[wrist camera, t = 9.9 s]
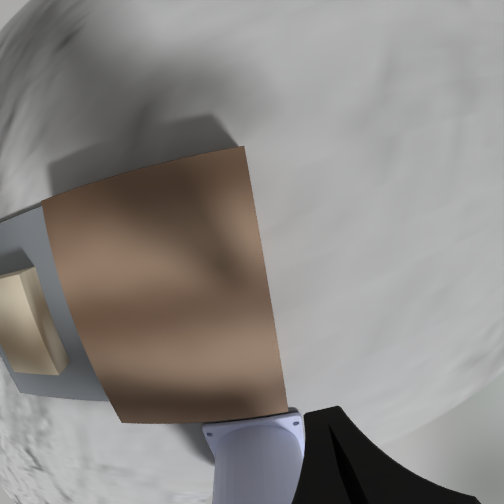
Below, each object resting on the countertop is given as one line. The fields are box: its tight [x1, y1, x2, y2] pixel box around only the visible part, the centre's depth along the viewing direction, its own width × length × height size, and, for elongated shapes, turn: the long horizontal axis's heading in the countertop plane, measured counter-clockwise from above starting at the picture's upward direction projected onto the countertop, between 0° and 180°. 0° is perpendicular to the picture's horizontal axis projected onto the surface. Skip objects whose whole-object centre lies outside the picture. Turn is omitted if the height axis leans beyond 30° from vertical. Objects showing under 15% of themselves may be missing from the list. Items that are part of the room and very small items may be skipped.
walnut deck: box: [41, 146, 288, 424], centre depth 17 cm, size 16×12×3 cm
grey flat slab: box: [0, 206, 109, 401], centre depth 18 cm, size 16×14×1 cm
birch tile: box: [0, 267, 70, 375], centre depth 17 cm, size 8×6×2 cm
